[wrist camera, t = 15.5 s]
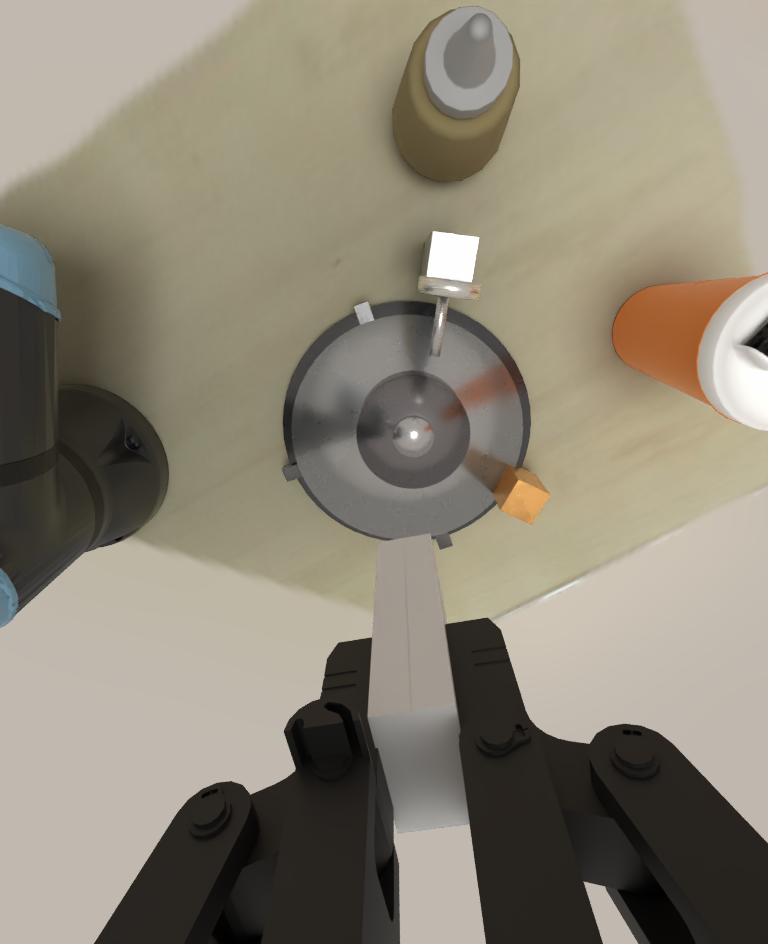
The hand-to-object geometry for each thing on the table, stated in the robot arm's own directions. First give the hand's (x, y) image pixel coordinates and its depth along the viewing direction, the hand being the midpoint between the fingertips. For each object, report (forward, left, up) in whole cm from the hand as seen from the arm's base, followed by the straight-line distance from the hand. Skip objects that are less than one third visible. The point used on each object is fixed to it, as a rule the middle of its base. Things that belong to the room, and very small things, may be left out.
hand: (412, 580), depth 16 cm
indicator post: (0, +8, -34) cm, 35 cm away
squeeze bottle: (-3, +19, -35) cm, 40 cm away
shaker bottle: (+19, +11, -35) cm, 41 cm away
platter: (+3, -4, -33) cm, 34 cm away
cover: (+2, -3, -32) cm, 32 cm away
